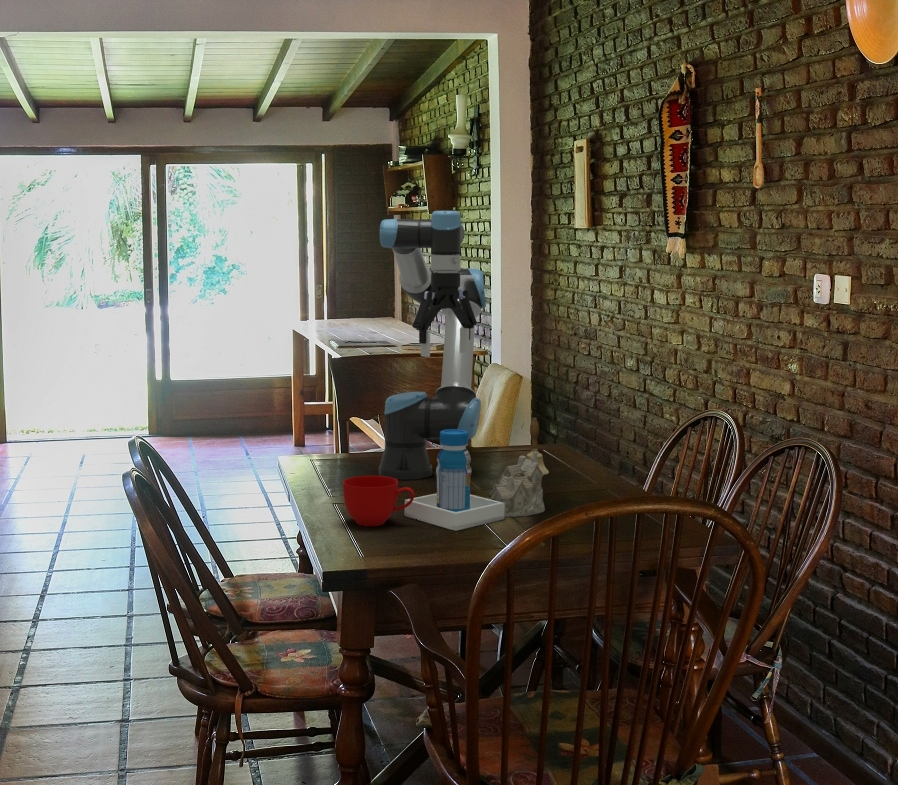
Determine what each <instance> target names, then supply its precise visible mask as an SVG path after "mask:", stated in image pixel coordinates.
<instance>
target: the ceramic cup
mask: <svg viewBox="0 0 898 785" xmlns="http://www.w3.org/2000/svg"><path fill="white" fill-rule="evenodd" d="M342 490H343V492H342V493H343V499H344V504H345V507H346V510H347V512H348V515H350V517H351V518H352V520H353V521H355V522H356V525H358V524H359V525H358V526H362V525H363V527H378V526H383V525H384V524H386V522H387V520H389V518H390V517H391V515H392V514H393V513H394V512H396V511H400V510H403V509H405V508H406V507H407V506H409V505H410V504H411V503H412V501H413V500H414V498H415V492H414V490H413V489H412V488H411V487H407V486H406V487H401V488H399V479H395V478H391V477H386V476H380V475H358V476H352V477H348V478H345V479H344V480H343V481H342ZM404 491H407V492H409V493H410V494H411V495H410V498H409V499H410V501H409V502H408V503H407V504H405V503H404V504H402V505H400V506H396V505H397V500H398V497H399V495H400V494H401V493H402V492H404Z"/></svg>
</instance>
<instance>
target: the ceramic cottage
mask: <svg viewBox="0 0 898 785" xmlns="http://www.w3.org/2000/svg"><path fill="white" fill-rule="evenodd" d="M537 454H538V453H537V452H533V456H531V457H530V460H528V459H526V458H527V456H526V455H519V457H518V461H517V464H515V465H514V464H513V465H507V466H506V467H505V469H504V471H503V473H502V474H501V476H500V477H499V478H498V479H497V481H496V482H497V484H495V485H494V486H493V488H492V489H491V491H490V493H489V494H490V495H491V497H490V499H491V500H495V501H499V502H503V503H505V508H504V518H507V517H508V518H510V517H511V518H514V517H528V516H533V515H538V514H542V513H544V512H545V510H546V508H545V503H544V500H543V497H544V493H543V491H544V489H543V487H542V479H543V477H544V475H543V472H542V471H541V470H540V468H539V466H538V459H537Z"/></svg>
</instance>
